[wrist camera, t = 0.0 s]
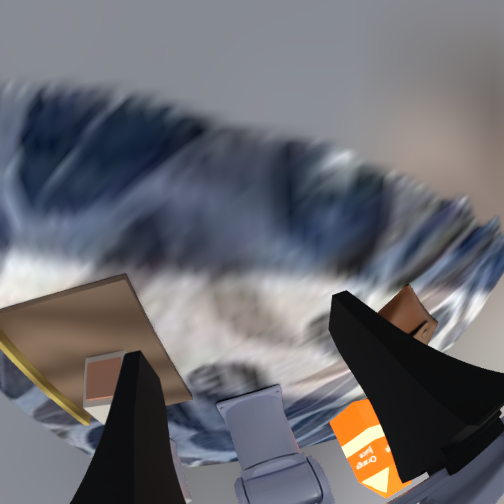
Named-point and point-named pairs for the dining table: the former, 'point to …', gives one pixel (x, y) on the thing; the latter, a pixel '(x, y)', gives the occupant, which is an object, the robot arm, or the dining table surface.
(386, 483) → the orange juice
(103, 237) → the dining table surface
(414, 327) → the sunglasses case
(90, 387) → the carton
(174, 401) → the shelf board
